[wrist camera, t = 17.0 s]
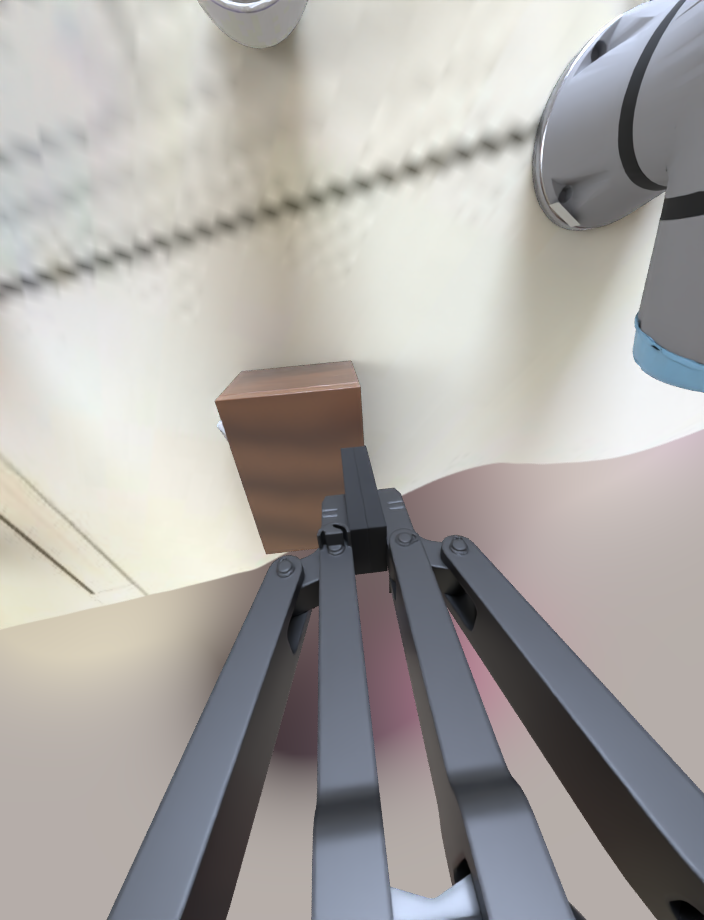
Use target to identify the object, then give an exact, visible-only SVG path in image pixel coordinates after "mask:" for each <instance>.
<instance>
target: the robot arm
mask: <svg viewBox="0 0 704 920" xmlns="http://www.w3.org/2000/svg"><path fill="white" fill-rule="evenodd" d="M533 183H534V189H535V193H536V197H537V199H538V202H539V204H540V206H541V208H542V210H543V212H544V213H545V214H546V216H547V217H548V218H549V219H550V220H551V221H552V222H554V223H555V224H557V225H558V226H560V227H562V228H565V229H569V230H587V229H592V228H597V227H601V226H605V225H608V224H610V223H613V222H615V221H617V220H619V219H621V218H623V217H625V216H627V215H628V214H630V213H631V212H633V211H635V210H636V209H638V208H639V207H641V206H643V205H644V204H646V203H647V202H649V201H651V200H652V199H654V198H655V197H657V196H659V195H660V194H662V193H663V192H665V191H666V193H665V199H664V204H663V209H662V213H661V217H660V221H659V226H658V230H657V235H656V239H655V243H654V248H653V252H652V256H651V261H650V265H649V269H648V274H647V278H646V282H645V287H644V291H643V295H642V300H641V304H640V308H639V312H638V313H637V315H636V317H635V328H636V333H635V339H634V345H633V357H634V360H635V362H636V363H637V364H638V365H639V366H640V367H641V369H642V370H643V371H644V372H645V373H646V374H648V375H650V376H651V377H653V378H655V379H657V380H659V381H662V382H664V383H667V384H670V385H673V386H676V387H680V388H684V389H688V390H692V391H698V392H703V393H704V0H650V1H649V2H646V3H643V4H641V5H638V6H636V7H634V8H633V9H631V10H629V11H627V12H625V13H623V14H622V15H620V16H619V17H617V18H616V19H614V20H613V21H612V22H610V23H609V24H608V25H607V26H606V27H604V28H603V29H602V30H601V31H600V32H599V33H598V34H597V35H595V36H594V37H593V38H592V39H591V40H590V41H589V42H588V43H587V44H586V45H585V46H584V47H583V48H582V49H581V50H580V51H579V52H578V53H577V55H576V56H575V57H574V58H573V59H572V61H571V62H570V63H569V65H568V66H567V67H566V69H565V70H564V72H563V73H562V75H561V77H560V78H559V80H558V82H557V83H556V85H555V87H554V89H553V91H552V93H551V95H550V97H549V99H548V101H547V104H546V106H545V109H544V111H543V114H542V117H541V120H540V123H539V127H538V130H537V135H536V139H535V145H534V151H533ZM340 450H341V459H342V469H343V478H344V488H345V494H340V495H331V496H325V498H324V500H323V502H322V520H321V528H320V529H319V530H318V533H317V540H318V545H319V548H318V549H317V550H316V551H315V552H314V553H313V554H311V555H309V556H308V557H305V558H302V559H299V558H298V557H295V556H292V555H288V556H283V557H280V558H278V559H277V560H275V561H274V562H273V563H272V564H271V566H270V567H269V569H268V571H267V574H266V576H265V578H264V580H263V583H262V584H261V587H260V589H259V591H258V593H257V595H256V598H255V600H254V602H253V604H252V606H251V608H250V611H249V613H248V615H247V617H246V619H245V621H244V623H243V626H242V628H241V630H240V632H239V634H238V636H237V639H236V641H235V643H234V645H233V647H232V649H231V652H230V654H229V656H228V658H227V660H226V663H225V665H224V667H223V669H222V671H221V673H220V676H219V678H218V680H217V682H216V684H215V686H214V689H213V691H212V693H211V695H210V697H209V700H208V702H207V704H206V706H205V708H204V710H203V713H202V714H201V717H200V719H199V721H198V723H197V725H196V728H195V730H194V732H193V734H192V736H191V738H190V741H189V743H188V745H187V747H186V749H185V751H184V754H183V756H182V758H181V760H180V762H179V764H178V767H177V769H176V771H175V773H174V776H173V777H172V779H171V782H170V784H169V786H168V788H167V791H166V792H165V795H164V797H163V799H162V801H161V803H160V806H159V808H158V810H157V812H156V814H155V816H154V818H153V821H152V823H151V825H150V827H149V829H148V831H147V834H146V836H145V838H144V840H143V842H142V845H141V847H140V849H139V851H138V853H137V855H136V857H135V860H134V862H133V864H132V866H131V868H130V870H129V873H128V875H127V877H126V879H125V881H124V883H123V886H122V888H121V890H120V892H119V894H118V896H117V899H116V901H115V903H114V905H113V907H112V910H111V912H110V914H109V916H108V918H107V920H226V917H227V914H228V910H229V908H230V904H231V901H232V897H233V894H234V890H235V886H236V883H237V879H238V876H239V872H240V868H241V864H242V861H243V857H244V854H245V850H246V847H247V843H248V839H249V836H250V832H251V828H252V825H253V821H254V818H255V814H256V810H257V807H258V803H259V799H260V796H261V792H262V789H263V785H264V781H265V778H266V774H267V771H268V767H269V764H270V760H271V756H272V753H273V749H274V745H275V742H276V738H277V734H278V731H279V727H280V724H281V720H282V717H283V713H284V709H285V706H286V702H287V699H288V695H289V691H290V688H291V684H292V680H293V677H294V673H295V669H296V666H297V662H298V659H299V655H300V652H301V648H302V644H303V641H304V637H305V633H306V630H307V626H308V623H309V619H310V615H311V612H312V608H315V607H317V606H319V660H318V664H319V665H318V770H317V771H318V773H317V805H316V810H315V817H314V827H313V859H312V917H311V919H312V920H586V919H585V918H584V917H583V916H582V914H581V913H580V912H579V911H578V910H577V909H576V908H575V907H574V906H572V904H570V903H569V901H568V900H567V897H566V895H565V892H564V889H563V887H562V884H561V882H560V879H559V877H558V874H557V872H556V869H555V867H554V864H553V862H552V859H551V857H550V854H549V851H548V849H547V846H546V844H545V841H544V839H543V836H542V834H541V831H540V828H539V826H538V823H537V821H536V819H535V816H534V813H533V811H532V809H531V806H530V804H529V802H528V800H527V798H526V796H525V794H524V792H523V790H522V789H521V787H520V786H519V784H518V783H517V782H516V781H515V780H514V778H513V777H512V776H511V774H510V772H509V770H508V768H507V766H506V763H505V761H504V758H503V755H502V753H501V750H500V748H499V745H498V742H497V740H496V737H495V734H494V732H493V729H492V726H491V724H490V721H489V718H488V716H487V713H486V711H485V708H484V705H483V702H482V700H481V697H480V694H479V692H478V689H477V686H476V684H475V681H474V679H473V676H472V673H471V670H470V668H469V665H468V663H467V660H466V657H465V655H464V652H463V649H462V647H461V644H460V641H459V638H458V636H457V633H456V630H455V628H454V625H453V622H452V620H451V617H450V615H449V612H448V609H449V611H450V612H451V614H452V615H453V617H454V618H455V620H456V622H457V623H458V625H459V626H460V628H461V629H462V630H463V632H464V634H465V635H466V637H467V638H468V640H469V641H470V643H471V644H472V646H473V648H474V649H475V651H476V652H477V654H478V655H479V657H480V658H481V660H482V661H483V663H484V665H485V666H486V667H487V669H488V670H489V672H490V674H491V675H492V677H493V678H494V680H495V681H496V683H497V684H498V686H499V687H500V689H501V691H502V692H503V694H504V695H505V697H506V698H507V700H508V701H509V703H510V704H511V706H512V707H513V709H514V711H515V712H516V714H517V715H518V717H519V718H520V720H521V721H522V723H523V724H524V726H525V727H526V729H527V731H528V732H529V734H530V735H531V737H532V738H533V740H534V741H535V743H536V744H537V746H538V747H539V749H540V750H541V752H542V754H543V755H544V757H545V758H546V760H547V761H548V763H549V764H550V766H551V767H552V769H553V770H554V772H555V774H556V775H557V777H558V778H559V780H560V781H561V783H562V784H563V786H564V787H565V789H566V790H567V792H568V793H569V795H570V796H571V798H572V799H573V801H574V803H575V804H576V806H577V807H578V809H579V810H580V812H581V813H582V815H583V816H584V818H585V820H586V821H587V822H588V824H589V826H590V827H591V829H592V830H593V832H594V833H595V835H596V836H597V838H598V840H599V841H600V842H601V844H602V846H603V847H604V848H605V850H606V851H607V853H608V854H609V856H610V857H611V859H612V860H613V861H614V863H615V864H616V866H617V867H618V869H619V870H620V872H621V873H622V874H623V876H624V877H625V879H626V880H627V881H628V883H629V884H630V885H631V887H632V888H633V889H634V890H635V892H636V893H637V894H638V896H639V897H640V898H641V899H642V901H643V902H644V903H645V905H646V906H647V907H648V908H649V909H650V911H651V912H652V914H653V915H654V916H655V917H656V919H657V920H704V793H703V792H702V791H701V790H700V789H699V788H698V787H697V786H696V785H695V784H694V783H693V781H692V780H691V779H690V778H689V777H688V776H687V775H686V774H685V773H684V772H683V770H682V769H681V768H680V767H679V766H678V765H677V764H676V763H675V762H674V761H673V760H672V758H671V757H670V756H669V755H668V754H667V753H666V752H665V751H664V750H663V749H662V748H661V747H660V745H659V744H658V743H657V742H656V741H655V740H654V739H653V738H652V737H651V736H650V735H649V733H648V732H647V731H646V730H644V728H643V727H642V726H641V725H640V724H639V723H638V722H637V720H635V718H634V717H633V716H632V715H631V714H630V713H629V712H628V711H627V710H626V708H625V707H624V706H623V705H622V704H621V703H620V702H619V701H618V700H617V699H616V697H615V696H614V695H613V694H612V693H611V692H610V691H609V690H608V689H607V688H606V687H605V686H604V685H603V683H602V682H601V681H600V680H599V679H598V678H597V677H596V676H595V675H594V674H593V672H592V671H591V670H590V669H589V668H588V667H587V666H586V665H585V664H584V663H583V662H582V660H580V658H579V657H578V656H577V655H576V654H575V653H574V652H573V651H572V650H571V649H570V647H569V646H568V645H567V644H566V643H565V642H564V641H563V640H562V639H561V638H560V637H559V636H558V634H557V633H556V632H555V631H554V630H553V629H552V628H551V627H550V626H549V625H548V623H547V622H546V621H545V620H544V619H543V618H542V617H541V616H540V615H539V614H538V613H537V611H535V609H534V608H533V607H532V606H531V605H530V604H529V603H528V602H527V601H526V600H525V599H524V597H523V596H522V595H521V594H520V593H519V592H518V591H517V590H516V589H515V588H514V586H513V585H512V584H511V583H510V582H509V581H508V580H507V579H506V578H505V577H504V576H503V574H502V573H501V572H500V571H499V570H498V569H497V568H496V567H495V566H494V565H493V564H492V563H491V562H490V560H489V559H488V558H487V557H486V556H485V555H484V554H483V553H482V552H481V551H480V549H479V548H478V547H477V546H476V545H475V544H474V543H473V542H472V541H471V540H469V539H468V538H466V537H463V536H459V535H452V536H448V537H446V538H445V539H444V540H443V541H442V542H436V541H430V540H426V539H424V538H422V537H420V536H419V535H418V534H417V533H416V532H415V531H414V529H413V526H412V523H411V521H410V518H409V515H408V513H407V510H406V508H405V504H404V502H403V499H402V496H401V493H399V492H398V491H397V490H396V489H395V488H388V489H379V490H377V487H376V483H375V479H374V475H373V471H372V467H371V463H370V460H369V456H368V452H367V448H366V446H359V447H350V448H341V449H340ZM387 566H388V570H389V590H390V591H389V593H392V596H393V601H394V606H395V610H396V615H397V620H398V624H399V629H400V633H401V638H402V643H403V647H404V652H405V656H406V661H407V665H408V670H409V675H410V679H411V683H412V689H413V693H414V698H415V702H416V707H417V712H418V716H419V721H420V726H421V730H422V735H423V739H424V744H425V749H426V753H427V758H428V762H429V767H430V771H431V776H432V781H433V785H434V790H435V795H436V799H437V804H438V810H439V817H440V825H441V833H442V839H443V844H444V849H445V854H446V858H447V863H448V868H449V872H450V877H451V882H452V887H451V888H450V889H448V890H446V891H445V892H444V893H442V894H441V895H439V896H438V897H436V898H433V899H430V898H426V897H423V896H419V895H416V894H413V893H410V892H406V891H403V890H400V889H396V888H393V887H390V882H389V873H388V864H387V855H386V847H385V838H384V828H383V819H382V811H381V802H380V794H379V785H378V776H377V767H376V759H375V749H374V740H373V732H372V722H371V714H370V705H369V696H368V687H367V678H366V669H365V661H364V651H363V643H362V634H361V625H360V616H359V607H358V599H357V589H356V580H355V575H357V574H365V573H373V572H382V571H387ZM447 608H448V609H447Z"/></svg>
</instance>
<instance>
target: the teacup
mask: <svg viewBox="0 0 704 920" xmlns="http://www.w3.org/2000/svg"><path fill="white" fill-rule="evenodd" d="M197 1H198V2H199V4H200V5H201V7H202V8H203V10H204V11H205V12H206V14H207V15H208V16H209V17H210V18H211V20H212V21H213V22H214V23H215V24H216V25H217V26H218V28H219V29H221V30H222V31H223V32H224V33H225V34H226V35H227V36H229V37H230V38H232V39H233V40H235V41H236V42H238V43H240V44H243V45H245V46H248V47H252V48H267V47H271V46H274V45H276V44H278V43H279V42H281V41H282V40H284V39H285V38H286V37H287V36H288V35H289V34H290V33H291V32H292V30H293V29H294V28H295V27H296V25H297V23H298V22H299V20H300V18H301V16H302V14H303V12H304V9H305V7H306V4H307V1H308V0H197Z"/></svg>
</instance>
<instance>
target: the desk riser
mask: <svg viewBox="0 0 704 920" xmlns="http://www.w3.org/2000/svg"><path fill="white" fill-rule="evenodd" d="M215 404H216V407H217V409H218V412H219V415H220V418H221V421H222V424H223V427H224V430H225V433H226V436H227V439H228V442H229V445H230V448H231V451H232V454H233V457H234V460H235V463H236V466H237V469H238V472H239V475H240V478H241V481H242V484H243V487H244V490H245V493H246V496H247V499H248V502H249V505H250V508H251V511H252V514H253V517H254V520H255V523H256V526H257V529H258V532H259V535H260V537H261V540H262V543H263V546H264V549H265V552H266V554H273V553H282V552H290V551H299V550H307V549H316V548H319V545H318V540H317V533H318V530H319V529H320V528H321V520H322V502H323V500H324V498H325V496H331V495H340V494H345V488H344V478H343V469H342V459H341V450H340V449H341V448H350V447H359V446H364V436H363V419H362V402H361V387H360V384H359V381H358V378H357V375H356V373H355V370H354V367H353V364H352V361H343V362H333V363H323V364H312V365H302V366H291V367H281V368H270V369H260V370H250V371H241V372H240V373H239V374H238V376H237V377H236V378H235V379H234V380H233V381H232V382H231V383H230V385H229V386H228V387H227V388H226V389H225V390H224V391H223V392H222V393H221V395H220V396H219V397H218V398H217V399H216V400H215Z"/></svg>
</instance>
